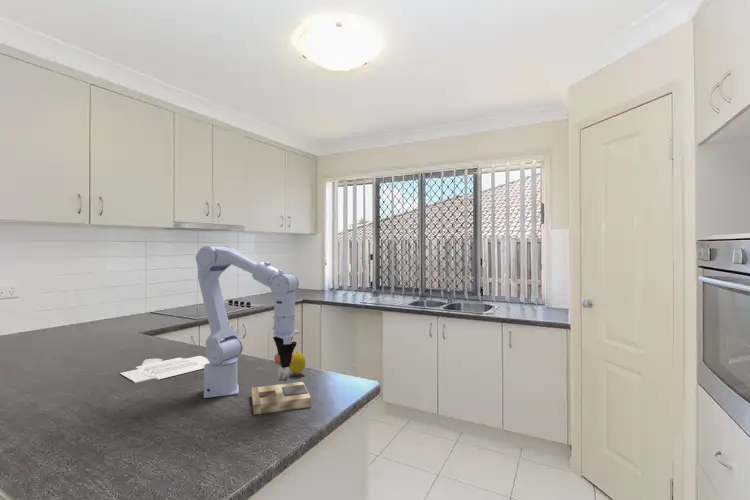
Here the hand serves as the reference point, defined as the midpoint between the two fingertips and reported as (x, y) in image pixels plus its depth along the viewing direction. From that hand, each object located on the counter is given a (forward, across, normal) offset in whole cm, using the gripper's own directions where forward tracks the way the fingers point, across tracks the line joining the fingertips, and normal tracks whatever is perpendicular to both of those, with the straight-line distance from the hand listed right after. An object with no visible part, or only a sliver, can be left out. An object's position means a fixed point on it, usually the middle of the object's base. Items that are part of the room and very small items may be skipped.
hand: (284, 363), depth 105 cm
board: (+10, 0, +1) cm, 11 cm away
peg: (+4, 0, 0) cm, 4 cm away
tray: (+11, +43, +35) cm, 57 cm away
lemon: (+11, +21, -7) cm, 25 cm away
